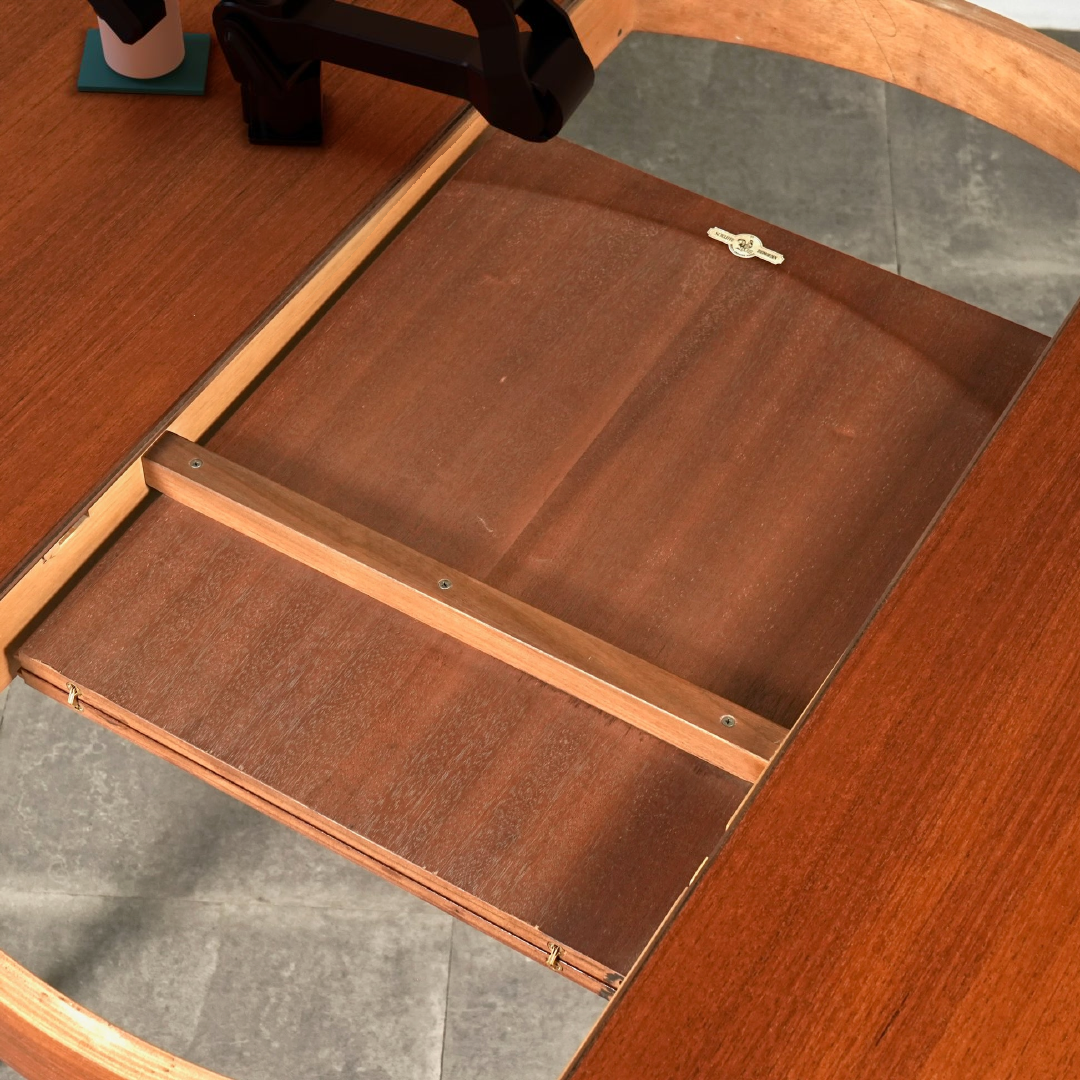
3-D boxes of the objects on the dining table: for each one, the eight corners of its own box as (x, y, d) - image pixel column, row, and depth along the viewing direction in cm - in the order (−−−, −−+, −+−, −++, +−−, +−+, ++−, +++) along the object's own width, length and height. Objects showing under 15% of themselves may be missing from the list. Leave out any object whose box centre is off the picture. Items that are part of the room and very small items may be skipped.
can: (172, 90, 141) (155, -28, 131) (94, 77, 141) (72, -42, 131) (195, 41, 145) (180, -77, 135) (119, 29, 145) (100, -90, 135)
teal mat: (211, 39, 146) (210, 33, 146) (204, 95, 142) (203, 90, 141) (88, 34, 145) (87, 28, 145) (77, 91, 141) (76, 85, 140)
